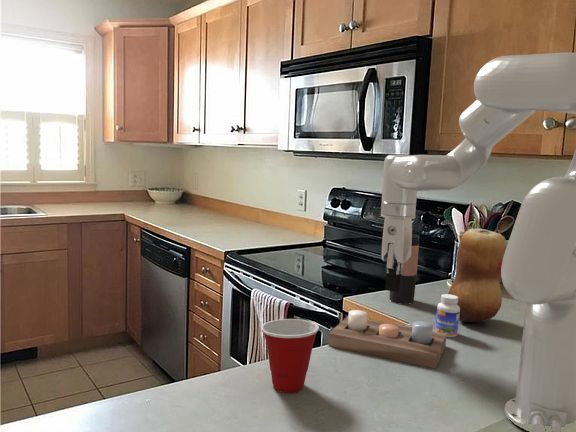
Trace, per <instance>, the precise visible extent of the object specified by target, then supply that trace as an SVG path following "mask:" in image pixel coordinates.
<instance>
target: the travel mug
mask: <svg viewBox="0 0 576 432" xmlns="http://www.w3.org/2000/svg"><path fill="white" fill-rule="evenodd" d="M419 248H420V236H419V235H418V234H414V233H412V245H411V257H410V258H409V259H408V260H407V261H406V262H404V263H403V264H402V273H401V274H402V280H401V290H400V291H399V292H393V291H389V301H390V300H391V301H390V302H391V303H394V302H395V303H394V304H398V303H401V304H400V305H410V304H409V303H412V304H413V303H414V302H415V301H414V299H415V294H416V285H417V283H416V282H417V275H418V264H419V263H418V262H419Z"/></svg>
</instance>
